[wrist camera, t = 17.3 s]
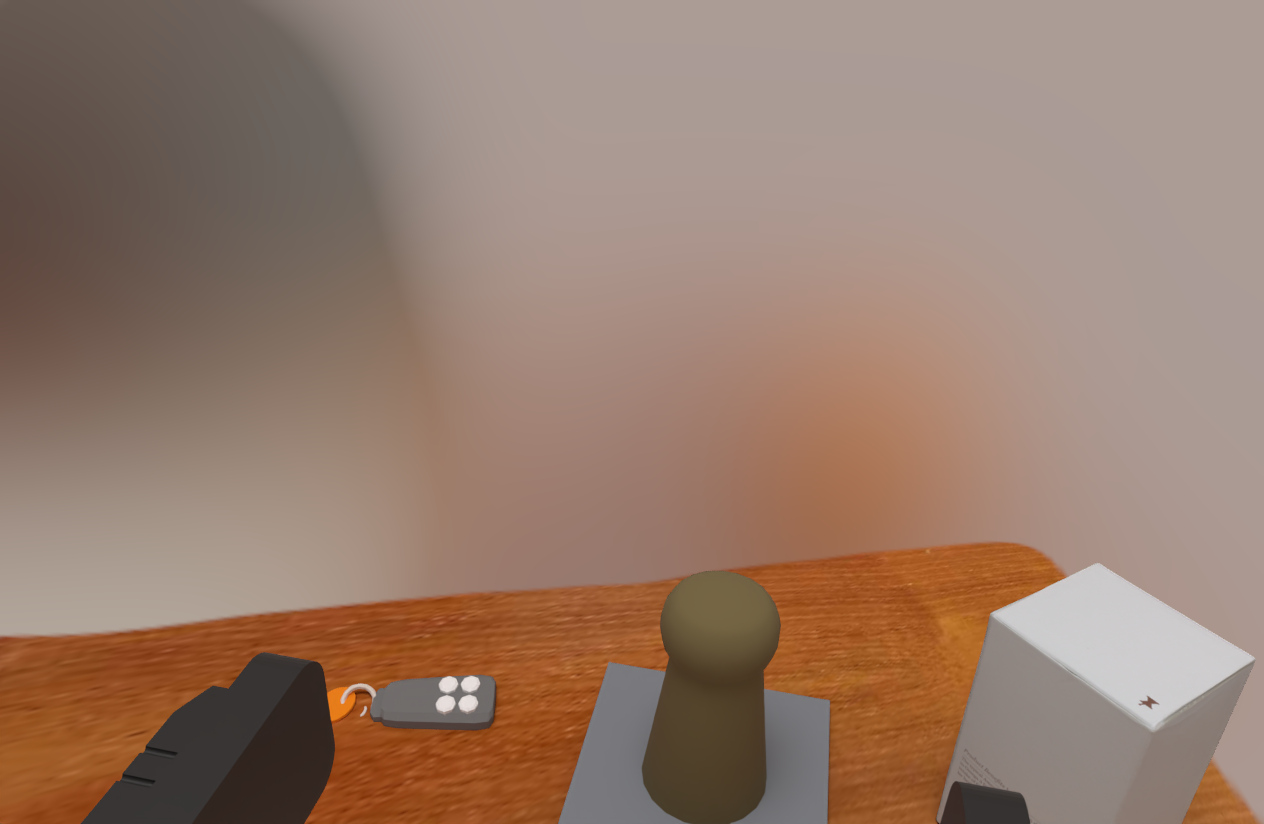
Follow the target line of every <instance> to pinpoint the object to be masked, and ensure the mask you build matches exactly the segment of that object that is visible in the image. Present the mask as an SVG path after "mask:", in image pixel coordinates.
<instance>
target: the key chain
mask: <svg viewBox="0 0 1264 824" xmlns="http://www.w3.org/2000/svg"><path fill="white" fill-rule="evenodd" d="M356 689H365V690H367V691H368V692H370V694H371V696H372V705H371V710H370V716H371V718H372V720H373V721H374V722H382V723H383V725H384V726H388V727H394V728H412V729H445V730H480V729H486V728H489V727H490V726H491V724H492V723H493V720H494V711H495V701H496V682H495V680H494V678H493V677H491V676H484V675H469V676H452V677H451V676H448V677H436V678H421V679H407V680H401V681H396V682H391V683H390V684H389V685H388V686H387V687H386V688H380V689H379V690H378V691H377V692H375V690H374V689H373V688H372V687H370V686H369V685H367V684H360V683H359V684H356V685H352V686H350V687H349V688H348V687H340V688H337V689H333V690H331V691H330V692H329V693H327V697H328V703H329V709H330V716H331V722H332V723H335V722H338V721H340V720H341V719H343V718H344V717H346V716H347V715H348V714H349V713H350V712H351V711H352V709H353V707H354V705H355V703H356V695H355V693H354V691H353V690H356ZM366 711H367V707H366V706H365V707H364V711H363V713H362V714H361V715H360V716H363V715H364V714H365V713H366Z"/></svg>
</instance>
